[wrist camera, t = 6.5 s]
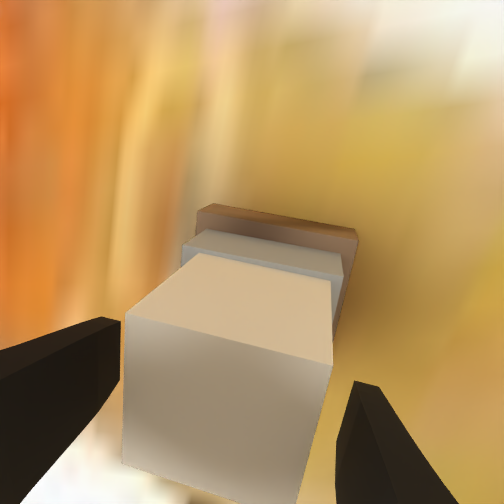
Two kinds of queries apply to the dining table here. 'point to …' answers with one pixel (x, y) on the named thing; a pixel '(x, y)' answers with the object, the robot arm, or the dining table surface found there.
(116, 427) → the dining table surface
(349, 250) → the walnut slab
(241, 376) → the cream cube
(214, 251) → the grey slab
